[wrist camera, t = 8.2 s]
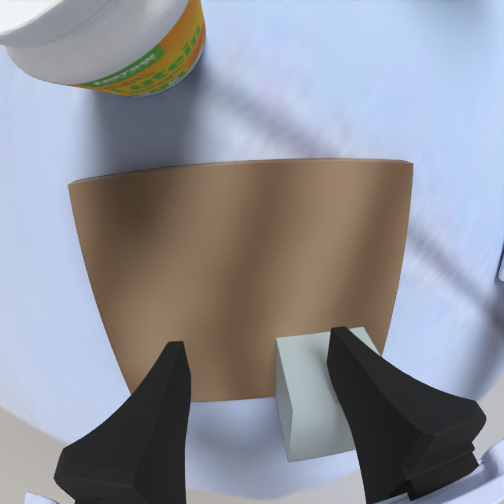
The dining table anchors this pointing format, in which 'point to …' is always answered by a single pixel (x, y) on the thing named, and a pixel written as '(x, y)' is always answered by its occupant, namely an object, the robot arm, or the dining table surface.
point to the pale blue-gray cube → (310, 397)
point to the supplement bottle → (105, 42)
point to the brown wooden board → (241, 261)
